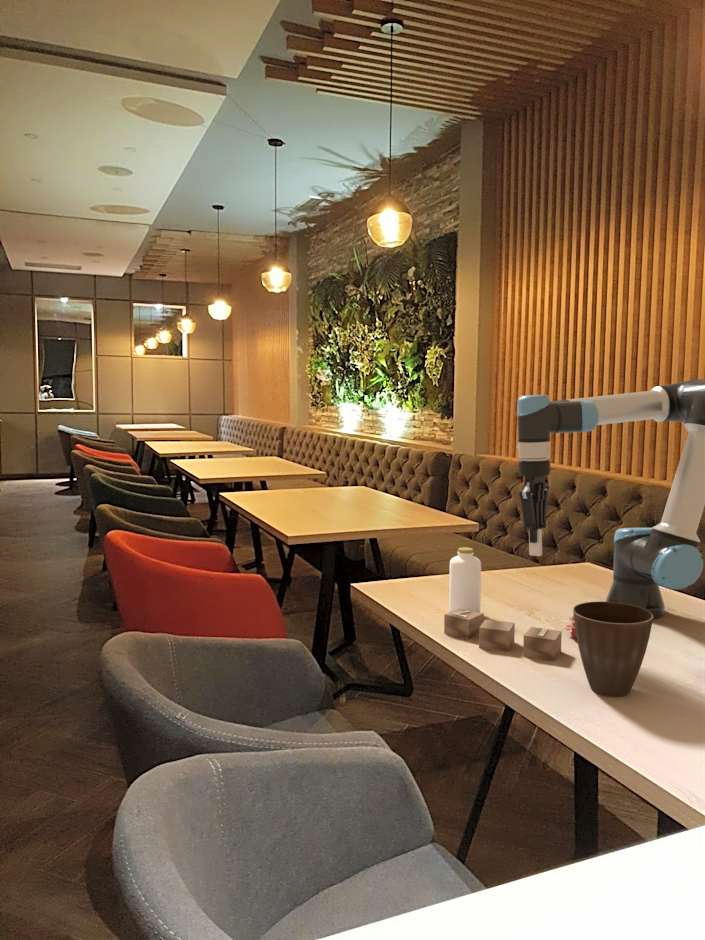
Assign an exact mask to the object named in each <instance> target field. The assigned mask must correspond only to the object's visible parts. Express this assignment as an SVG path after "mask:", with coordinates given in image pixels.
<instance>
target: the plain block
mask: <svg viewBox="0 0 705 940" xmlns="http://www.w3.org/2000/svg"><path fill="white" fill-rule="evenodd" d="M515 625H516V623H515V622H514V621H513V622H511V621H503V620H494V619H485V620H484V622H483V623H482V625H481V626H480V627H479V635H478V648H479V649H486V650H494V651H503V652H508V653H509V652H510V651H511V649H512V647H513V645H514V644H515V630H516V627H515Z"/></svg>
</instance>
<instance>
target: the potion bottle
mask: <svg viewBox="0 0 705 940" xmlns="http://www.w3.org/2000/svg"><path fill="white" fill-rule="evenodd" d="M456 553H457V555H456V556H453V557H452V558H451V559H450V560H449V579H448V580H449V584H448V585H449V587H448V588H449V589H448V591H449V593H448V595H449V596H448V597H449V599H448V601H449V602H448V603H449V604H448V605H449V606H448V611H449V612H452V611H454V610H456V609H459V608H461V609H465V610H470V611H475V612H480V613H481V602H482V601H481V598H482V597H481V594H482V592H481V591H482V589H481V587H482V585H481V584H482V562H481V560H480V559H479V558H478V557H476V556H474V548H473V547H472V548H471V547H466V546H465V547H457V552H456ZM449 612H448V613H449Z"/></svg>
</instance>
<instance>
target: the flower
mask: <svg viewBox="0 0 705 940" xmlns="http://www.w3.org/2000/svg"><path fill="white" fill-rule="evenodd" d="M568 619H569V620H570V621H571V622H570V623H569V624H567V625H566V626H564V630H566V631H569V633H570V635H571V636H572V638H576V639H577V636H576V630H575V622H574V614H572V616H570V617H568ZM570 630H571V631H570Z"/></svg>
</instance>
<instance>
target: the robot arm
mask: <svg viewBox="0 0 705 940" xmlns="http://www.w3.org/2000/svg"><path fill="white" fill-rule="evenodd" d="M516 407H517V409H516V418H517V419H516V420H517V445H516V449H517V450H518V451H517V453H518V455H517V456H518V458H519V460H518V462H517V467H518V475H519V476H520V477H524V482H523V490H520V489H519V493H518V494H519V498H520V502H521V510H522V516H523V517H522V519H523V526H524V529H525V530H528V546H529V547H528V551H529V552H528V554H529V555H528V556H534V557H542V556H543V530H542V529H546V527H547V525H546V521H547V512H548V509H547V508H548V498H549V491H550V485H549V484H546V479H545V477H547V476H550V474H551V460H550V459H549V458H551V435H552V434H568V433H569V434H570V433H571V434H573V433H574V434H575V433H581V434H582V433H587V432H592V431H594V430H595V429H596V427H597V426H601V425H610V424H619V423H631V422H639V421H648V420H653V421H655V422H656V423H664V422H673V423H675V422H676V423H684V425H683V427H684V428H685V430H686V431H687V435H686V436H687V437H686V439H685V443H684V446H683V449H682V453H681V455H680V459H679V462H678V465H677V468H676V472H675V475H674V478H673V481H672V485H671V488H670V492H669V494H668V497H667V501H666V503H665V508H664V511H663V514H662V516H661V520H660V523H658V524H657V525H653V526H652V527H624V528H623V527H622V528H621V527H620V528H618V529H617V530H616V531H615V533H614V537H613V538H614V539H613V567H612V568H613V573H612V574H613V578H612V583H611V586H610V587H609V590H608V594H607V596H606V599H605V602H617V603H624V604H630V605H634V606H638V607H641V608H644V609H646V610H648V611H650V612H651V613H652V614H653V619H657V618H660V617H663V616H665V610H666V609H665V608H666V605H665V603H664V599H663V596H662V595H663V594H662V593H661V589H660V587H664V588H666V589H667V588H668V589H672V590H682V589H685V588H686V589H687V587H689V586H692V585H693V584H694V583H695V582H696V581H697V580H698V579H699V578H700V576H701V574H702V572H703V569H704V559H703V558H702V554H701V552H700V551H699V548H700V544H701V540H700V538H699V536H698V535H697V531H698V529H699V524H700V521H701V519H702V515H703V512H704V508H705V378H696V379H690V380H689V379H688V380H684V381H680V382H674V383H671V384H665V385H657V386H653V388H651V389H650V390H647V391H644V390H643V391H638V392H636V391H635V392H627V393H619V394H617V393H616V394H607V395H599V396H597V395H596V396H591V397H589V396H588V397H578V398H570V399H569V398H568V399H561V400H552V401H551V400H550V396H549V395H548V394H535V395H534V394H533V395H532V394H531V395H530V394H529V395H521V396H519V398H518V399H517V405H516Z"/></svg>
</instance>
